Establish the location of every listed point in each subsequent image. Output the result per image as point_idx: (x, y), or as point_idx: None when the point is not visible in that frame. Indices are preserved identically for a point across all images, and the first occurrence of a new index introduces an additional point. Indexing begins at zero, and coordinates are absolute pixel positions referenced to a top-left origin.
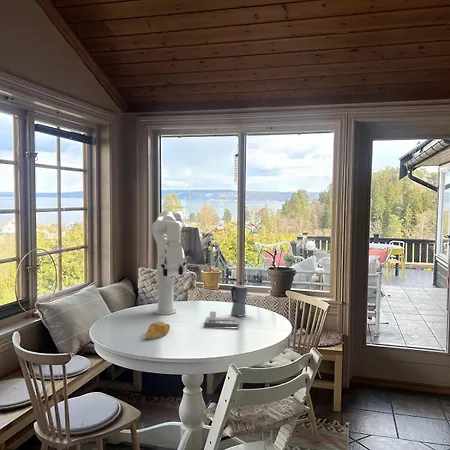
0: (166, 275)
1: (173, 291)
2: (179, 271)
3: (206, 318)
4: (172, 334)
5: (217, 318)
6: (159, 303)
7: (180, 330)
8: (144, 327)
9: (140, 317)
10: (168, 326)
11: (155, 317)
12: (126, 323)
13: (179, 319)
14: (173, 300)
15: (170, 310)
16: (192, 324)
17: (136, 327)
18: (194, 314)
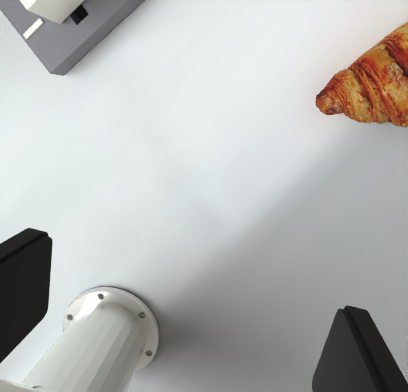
0: (367, 314)
1: (29, 379)
2: (15, 320)
3: (72, 51)
4: (369, 15)
5: (23, 5)
6: (133, 368)
7: (282, 44)
8: (368, 216)
9: (255, 346)
10: (368, 54)
11: (205, 301)
12: (373, 321)
13: (144, 199)
14: (58, 340)
15: (106, 306)
16: (157, 86)
17: (394, 242)
18: (31, 212)
